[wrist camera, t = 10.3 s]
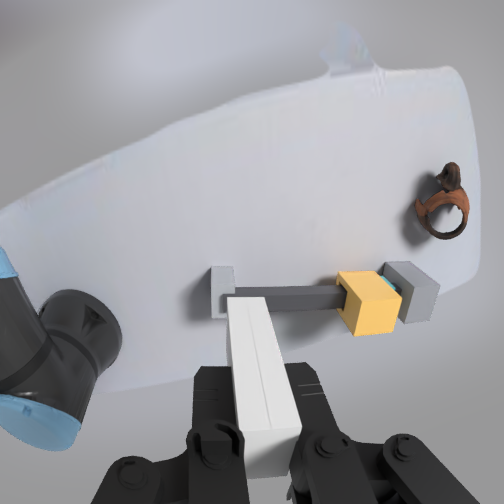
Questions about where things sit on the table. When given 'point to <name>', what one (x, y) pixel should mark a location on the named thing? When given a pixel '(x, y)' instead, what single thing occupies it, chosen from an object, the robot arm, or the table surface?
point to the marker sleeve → (368, 303)
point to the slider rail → (331, 293)
